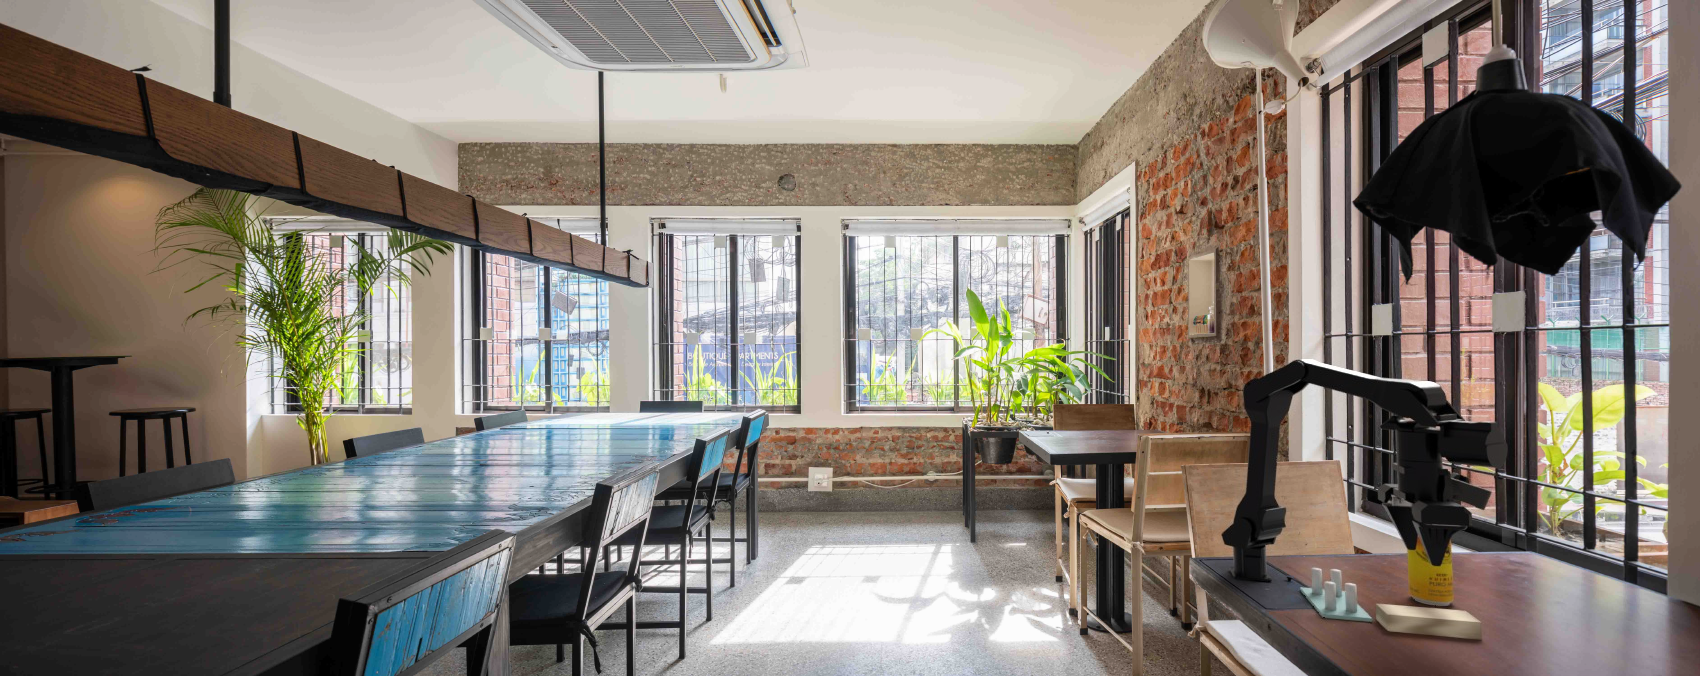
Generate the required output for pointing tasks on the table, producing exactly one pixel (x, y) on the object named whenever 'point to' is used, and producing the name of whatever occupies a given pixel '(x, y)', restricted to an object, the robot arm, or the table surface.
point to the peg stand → (1334, 597)
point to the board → (1428, 621)
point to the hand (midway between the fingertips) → (1423, 557)
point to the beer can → (1430, 577)
